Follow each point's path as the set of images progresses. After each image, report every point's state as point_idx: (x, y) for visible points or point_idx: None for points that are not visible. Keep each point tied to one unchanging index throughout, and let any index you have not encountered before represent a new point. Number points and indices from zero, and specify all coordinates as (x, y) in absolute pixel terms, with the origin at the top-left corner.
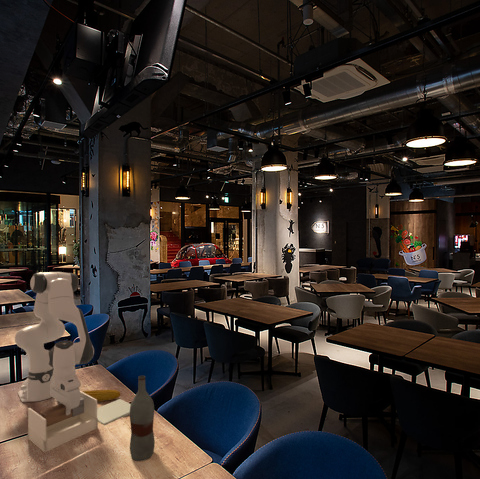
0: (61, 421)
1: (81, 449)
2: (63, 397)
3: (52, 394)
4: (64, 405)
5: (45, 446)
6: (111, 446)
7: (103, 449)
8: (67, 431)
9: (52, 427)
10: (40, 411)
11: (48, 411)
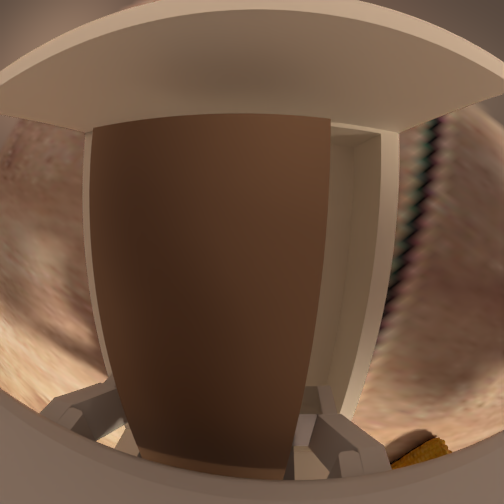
0: (343, 344)
1: (49, 268)
2: (7, 499)
3: (491, 474)
4: (199, 447)
5: None
6: (22, 334)
7: (19, 310)
8: (89, 277)
9: (348, 282)
10: (318, 123)
11: (175, 227)
